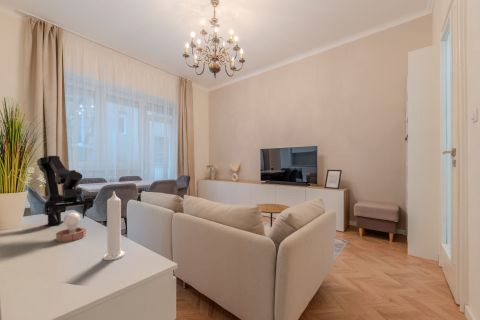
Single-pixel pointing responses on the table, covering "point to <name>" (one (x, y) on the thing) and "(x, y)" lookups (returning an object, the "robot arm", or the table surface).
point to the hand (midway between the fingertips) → (71, 219)
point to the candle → (114, 229)
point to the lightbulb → (72, 221)
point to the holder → (70, 235)
